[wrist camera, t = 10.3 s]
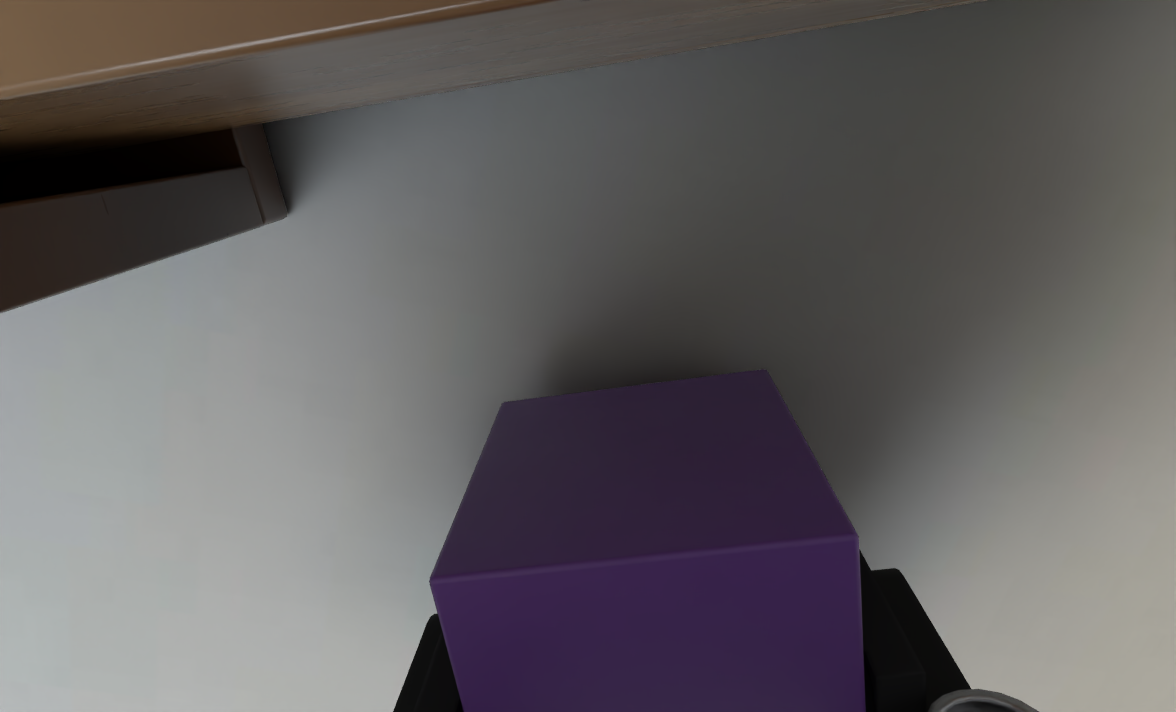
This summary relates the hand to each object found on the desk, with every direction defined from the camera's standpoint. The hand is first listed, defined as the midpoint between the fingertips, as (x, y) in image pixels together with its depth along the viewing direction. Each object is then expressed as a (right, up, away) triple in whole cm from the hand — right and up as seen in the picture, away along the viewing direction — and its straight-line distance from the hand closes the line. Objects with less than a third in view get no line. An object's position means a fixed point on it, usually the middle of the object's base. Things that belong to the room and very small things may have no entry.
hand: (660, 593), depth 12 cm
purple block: (0, 0, +1) cm, 1 cm away
